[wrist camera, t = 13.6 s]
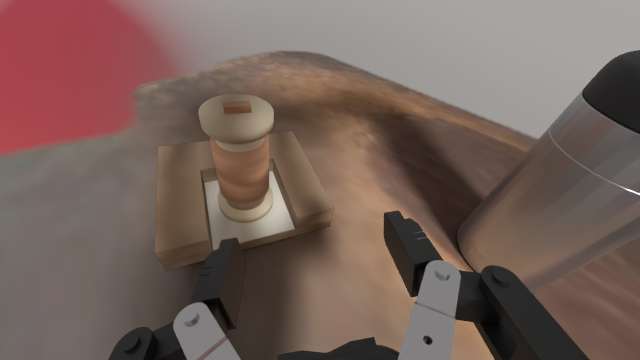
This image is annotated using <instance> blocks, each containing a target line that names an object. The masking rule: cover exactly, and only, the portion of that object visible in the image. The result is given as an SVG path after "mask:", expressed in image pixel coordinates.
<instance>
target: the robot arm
mask: <svg viewBox="0 0 640 360" xmlns="http://www.w3.org/2000/svg"><path fill="white" fill-rule="evenodd" d="M639 236H640V50H639V51H633V52H628V53H625V54H622V55H619V56H617V57H616V58H614V59H613V60H611V61H610V62H609V63H608V64H606V65H605V66H604V67H603V68H602V69H601V70H600V71H599V72H598V73H597V75H596V76H595V77H594V78H593V79H592V80H591V81H590V82H589V83H588V85H587V86H586V87H585V88H584V89H583V91H582V92H581V93H580V94H579V95H578V96H577V97H576V98H575V99H574V100H573V102H572V103H571V104H570V105H569V106H568V107H567V108H566V109H565V110H564V112H563V113H562V114H561V115H560V116H559V117H558V118H557V119H556V120H555V121H554V123H553V124H552V125H551V126H550V127H549V128H548V130H547V131H546V132H545V133H544V134H543V135H542V136H541V137H540V138H539V139H538V141H537V142H536V143H535V144H534V145H533V146H532V147H531V148H530V149H529V151H528V152H527V153H526V154H525V155H524V156H523V157H522V158H521V159H520V160H519V162H518V163H517V164H516V165H515V166H514V167H513V168H512V169H511V170H510V172H509V173H508V174H507V175H506V176H505V177H504V178H503V179H502V180H501V181H500V183H499V184H498V185H497V186H496V187H495V188H494V189H493V190H492V191H491V192H490V194H489V195H488V196H487V197H486V198H485V199H484V200H483V201H482V202H481V204H479V206H478V207H477V208H476V209H475V210H474V211H473V212H472V213H471V214H470V216H469V217H468V218H467V219H466V220H465V221H464V222H463V223H462V224H461V226H460V227H459V229H458V233H457V242H458V245H459V249H460V251H461V252H462V254H463V256H464V258H465V259H466V261H467V262H468V263H469V265H470V266H471V267H472V268H473V269H474V270H475V271H476V272H477V273H475V272H465V271H460V270H458V269H457V268H456V267H455V266H454V265H452V264H451V263H448V262H446V261H444V260H443V259H442V258H441V256H440V255H439V253H438V252H437V250H436V249H435V247H434V246H433V245H432V243H431V242H430V240H429V239H428V238H427V236H426V234H425V233H424V232H423V230H422V229H421V227H420V226H419V224H418V223H416V222H415V221H413V220H412V219H411V218H408V219H404V218H403V216H402V214H401V213H400V212H399V211H392V212H386V213H384V239H385V243H386V246H387V248H388V250H389V252H390V254H391V256H392V258H393V260H394V262H395V265H396V267H397V269H398V271H399V273H400V275H401V277H402V279H403V282H404V284H405V286H406V288H407V290H408V292H409V294H410V296H411V297H416V296H418V297H417V300H416V302H415V303H414V306H413V309H412V312H411V316H410V319H409V323H408V326H407V330H406V333H405V337H404V340H403V343H402V347H401V350H400V353H399V352H397V351H396V350H394V349H391V348H389V347H386V346H382V345H376V343H375V339H374V337H371V338H366V339H361V340H355V341H350V342H348V343H346V344H344V345H342V346H340V347H338V348H336V349H334V350H332V351H330V352H328V353H321V352H311V351H297V352H291V353H286V354H281V355H278V360H450V356H451V349H452V342H453V335H454V328H455V320H463V321H469V322H473V323H474V324H475V326H476V328H477V330H478V331H479V333H480V335H481V336H482V338H483V340H484V342H485V343H486V345H487V347H488V348H489V350H490V352H491V354H492V355H493V357H494V359H495V360H589V359H588V357H587V356H586V355H585V354H584V353H583V352H582V351H581V349H580V348H579V347H578V346H577V345H576V344H575V343H574V341H573V340H572V339H571V338H570V337H569V336H568V334H567V333H566V332H565V331H564V330H563V329H562V328H561V326H560V325H559V324H558V323H557V322H556V321H555V319H554V318H553V317H552V316H551V315H550V314H549V313H548V311H547V310H546V309H545V308H544V307H543V306H542V304H541V303H540V302H539V301H538V300H537V299H536V298H535V296H534V295H533V294H532V293H534V292H536V291H538V290H540V289H542V288H543V287H545V286H547V285H549V284H551V283H553V282H555V281H557V280H559V279H560V278H562V277H564V276H566V275H568V274H570V273H572V272H574V271H576V270H578V269H579V268H581V267H583V266H585V265H587V264H589V263H591V262H592V261H594V260H596V259H598V258H600V257H602V256H604V255H605V254H607V253H609V252H611V251H613V250H615V249H617V248H618V247H620V246H622V245H624V244H626V243H628V242H630V241H631V240H633V239H635V238H637V237H639ZM245 270H246V261H245V257H244V254H243V251H242V249H241V246H240V244H239V241H238V239H237V238H236V237H235V238H229V239H223V240H221V242H220V245H219V248H218V250H217V251H212V252H211V254H210V255H209V256H208V257H207V258H206V260H205V263H204V266H203V270H202V271H201V274H200V277H199V280H198V282H197V285H196V288H195V291H194V294H193V296H192V299H191V302H190V305H189V306H187V307H185V308H184V309H183V310H182V311H181V312H180V313H179V314H178V315H177V317H176V319H175V321H174V322H172V323H170V324H168V325H166V326H164V327H162V328H160V329H157V330H155V331H153V332H152V331H151V330H150V329H149V328H147V327H140V328H136V329H134V330H132V331H130V332H129V333H127V334H126V335H125V336H124V337H123V338H122V339H121V340H120V341H119V342H118V343H117V344H116V346H115V348H114V349H113V351H112V353H111V355H110V357H109V359H108V360H241V359H240V357H239V356H238V354H237V353H236V351H235V349H234V348H233V346H232V345H231V343H230V341H229V340H228V338H227V337H226V334H227V330H230V329H235V328H236V322H237V317H238V311H239V305H240V299H241V293H242V288H243V282H244V276H245Z"/></svg>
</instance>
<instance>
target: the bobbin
mask: <svg viewBox="0 0 640 360" xmlns="http://www.w3.org/2000/svg"><path fill="white" fill-rule="evenodd" d="M198 114H199V119H200V123H201V127H202V129H203V131H204V132H205V133H206V134H207V135H208V136H210V144H211V149H212V154H213V159H214V163H215V168H216V173H217V178H218V183H219V188H220V191H219V194H218V204H219V208H220V211H221V213H222V214H223V215H224V216H225V217H226V218H227V219H229V220H231V221H234V222H239V223H249V222H253V221H257V220H259V219H261V218H263V217H264V216H265V215H266V214H267V213H268V212H269V211H270V209H271V207H272V204H273V192H272V189H271V187H270V186H269V135H268V134H269V133H270V132H271V130H272V129H273V126H274V110H273V108H272V106H271V105H270V104H269V103H268V102H266V101H265V100H263V99H261V98H259V97H256V96H252V95H247V94H224V95H219V96H216V97H213V98H210V99H209V100H207V101H205V102H204V103H203V104H202V105H201V106H200V108H199V111H198Z"/></svg>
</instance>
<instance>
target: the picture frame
mask: <svg viewBox="0 0 640 360" xmlns="http://www.w3.org/2000/svg"><path fill="white" fill-rule="evenodd" d="M268 135H269V186H270V187H271V189H272V192H273V204H272V207H271V209H270V211H269V212H268V213H267V214H266V215H265V216H264V217H263V218H261V219H259V220H257V221H253V222H249V223H239V222H234V221H231V220H229V219H227V218H226V217H225V216H224V215H223V214H222V213H221V211H220V208H219V204H218V194H219V191H220V188H219V183H218V178H217V173H216V168H215V163H214V159H213V154H212V149H211V144H210V140H209V141H201V142H192V143H184V144H176V145H167V146H159V147H158V171H157V201H156V232H155V254H156V255H157V257H158V258H159V260H160V262H161V263H162V265H163V266H164V268H165V269H166V271H168V270H171V269H175V268H179V267H182V266H186V265H190V264H194V263H197V262H201V261H205V260H206V258H207V257H208V256H209V255H210V254H211V252H212V251H217V250H218V248H219V245H220V242H221V240H223V239H229V238H235V237H236V238H237V239H238V241H239V244H240V246H241V249H242V250H245V249H249V248H252V247H256V246H260V245H263V244H267V243H271V242H274V241H278V240H282V239H285V238H289V237H293V236H296V235H300V234H304V233H307V232H311V231H315V230H318V229H322V228H326V227H329V226H330V222H331V219H332V215H333V212H334V207H333V205H332V203H331V202H330V200H329V198H328V196H327V194H326V192H325V190H324V189H323V187H322V185H321V183H320V181H319V179H318V177H317V176H316V174H315V172H314V170H313V168H312V166H311V165H310V163H309V161H308V159H307V157H306V155H305V153H304V152H303V150H302V148H301V146H300V144H299V142H298V140H297V139H296V137H295V135H294V133H293V131H286V132H277V133H269V134H268Z"/></svg>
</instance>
